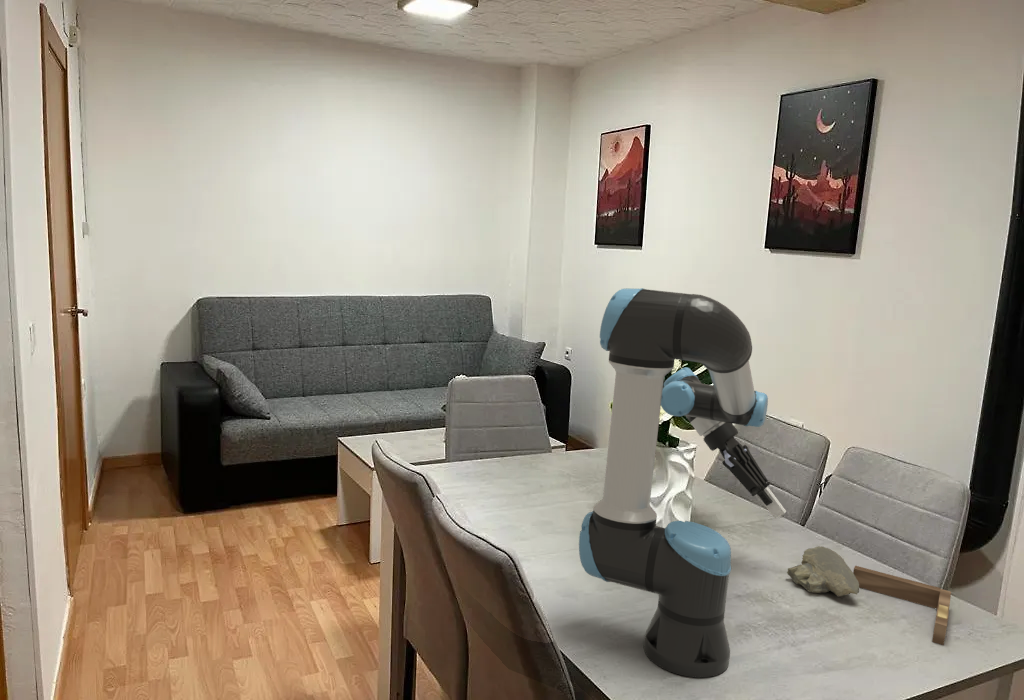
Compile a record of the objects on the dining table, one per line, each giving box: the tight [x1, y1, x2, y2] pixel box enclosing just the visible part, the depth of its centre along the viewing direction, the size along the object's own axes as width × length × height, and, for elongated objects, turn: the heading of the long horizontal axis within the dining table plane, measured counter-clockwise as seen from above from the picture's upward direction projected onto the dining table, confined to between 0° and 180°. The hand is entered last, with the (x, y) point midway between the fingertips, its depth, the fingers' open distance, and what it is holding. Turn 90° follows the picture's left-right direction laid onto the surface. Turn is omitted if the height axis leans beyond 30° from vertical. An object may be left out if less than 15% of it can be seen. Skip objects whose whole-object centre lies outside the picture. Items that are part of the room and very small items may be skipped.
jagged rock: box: [786, 545, 860, 598], centre depth 168 cm, size 14×10×10 cm
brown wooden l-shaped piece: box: [852, 565, 952, 646], centre depth 161 cm, size 18×19×4 cm
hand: (780, 515), depth 172 cm, fingers closed
